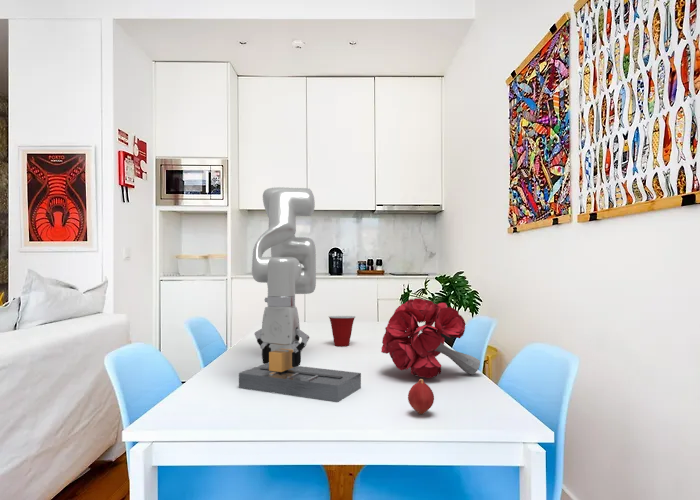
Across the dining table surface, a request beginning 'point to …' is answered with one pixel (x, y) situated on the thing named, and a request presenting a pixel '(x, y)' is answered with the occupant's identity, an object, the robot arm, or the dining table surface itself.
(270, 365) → the fader knob
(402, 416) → the dining table surface
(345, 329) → the plastic cup
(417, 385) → the onion
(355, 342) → the dining table surface
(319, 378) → the block
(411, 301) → the bouquet
